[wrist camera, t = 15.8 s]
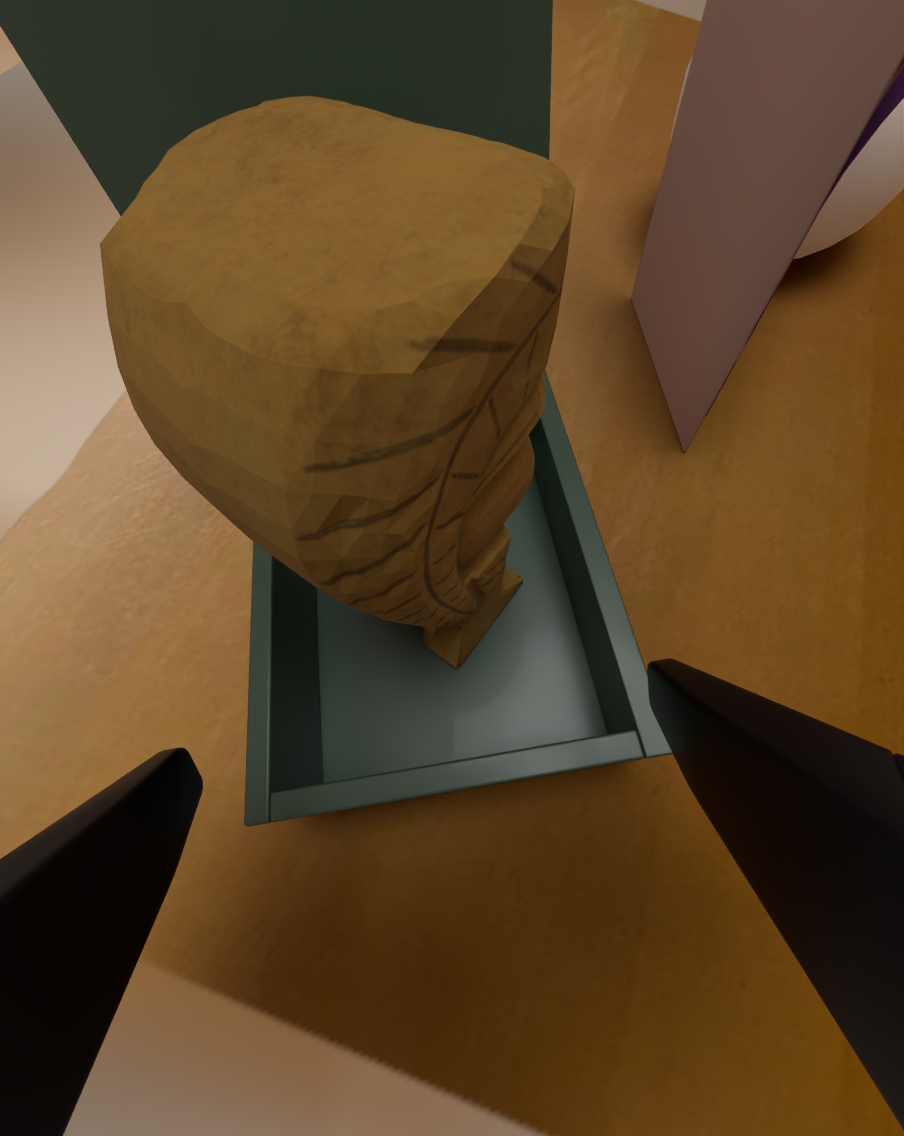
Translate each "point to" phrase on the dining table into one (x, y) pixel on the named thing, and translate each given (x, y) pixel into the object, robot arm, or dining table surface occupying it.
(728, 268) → the greeting card
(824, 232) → the cup
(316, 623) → the green open box
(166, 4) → the box lid
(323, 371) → the figurine
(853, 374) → the dining table surface
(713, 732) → the robot arm
